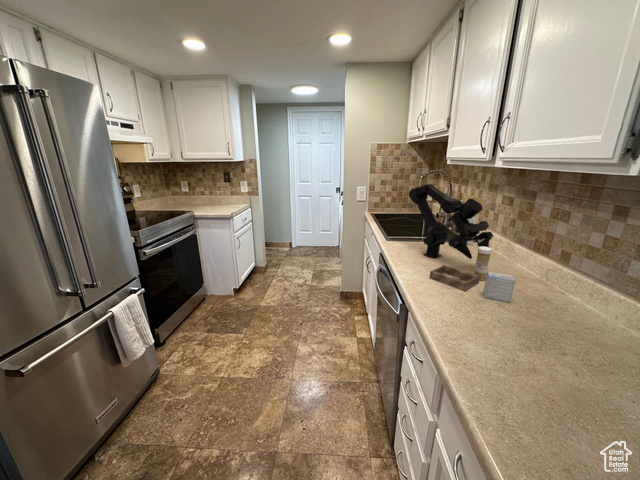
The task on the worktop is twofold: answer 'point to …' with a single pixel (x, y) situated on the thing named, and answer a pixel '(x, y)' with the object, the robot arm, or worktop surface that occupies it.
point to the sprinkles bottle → (482, 262)
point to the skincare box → (473, 220)
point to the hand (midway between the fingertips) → (480, 257)
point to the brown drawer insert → (462, 283)
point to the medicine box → (499, 286)
